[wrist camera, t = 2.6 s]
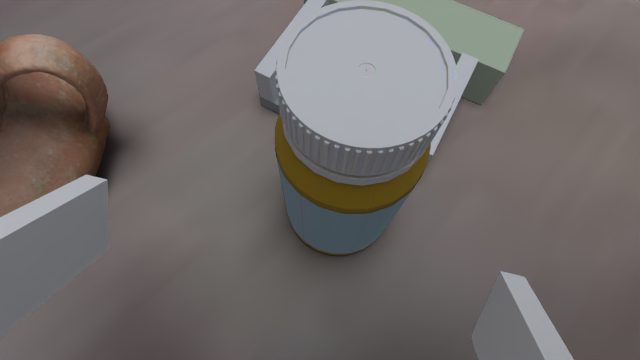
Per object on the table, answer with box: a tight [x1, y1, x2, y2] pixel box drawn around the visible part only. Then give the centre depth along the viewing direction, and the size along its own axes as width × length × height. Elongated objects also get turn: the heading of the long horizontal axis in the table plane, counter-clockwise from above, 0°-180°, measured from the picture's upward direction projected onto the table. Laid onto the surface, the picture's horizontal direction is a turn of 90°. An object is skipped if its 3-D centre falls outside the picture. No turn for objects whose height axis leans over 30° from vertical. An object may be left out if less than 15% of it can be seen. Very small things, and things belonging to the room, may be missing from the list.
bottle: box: [275, 0, 457, 255], centre depth 20 cm, size 7×7×15 cm
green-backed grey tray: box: [254, 0, 524, 162], centre depth 29 cm, size 16×13×4 cm
